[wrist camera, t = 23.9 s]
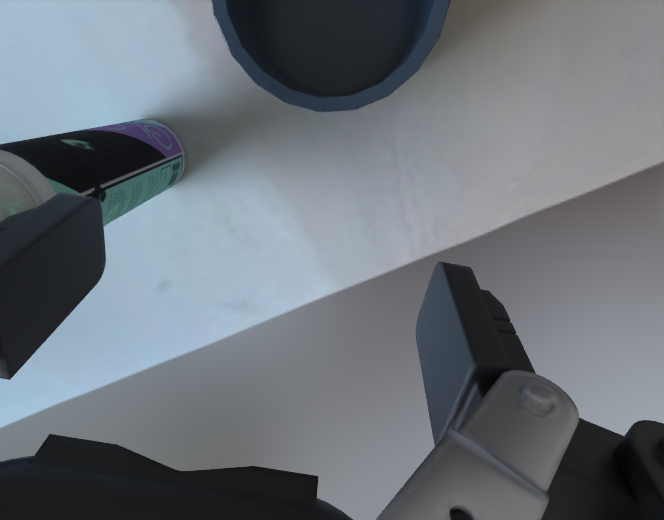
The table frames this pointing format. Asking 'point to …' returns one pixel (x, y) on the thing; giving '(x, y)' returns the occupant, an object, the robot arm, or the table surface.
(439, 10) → the tin
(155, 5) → the table surface
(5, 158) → the spray can
